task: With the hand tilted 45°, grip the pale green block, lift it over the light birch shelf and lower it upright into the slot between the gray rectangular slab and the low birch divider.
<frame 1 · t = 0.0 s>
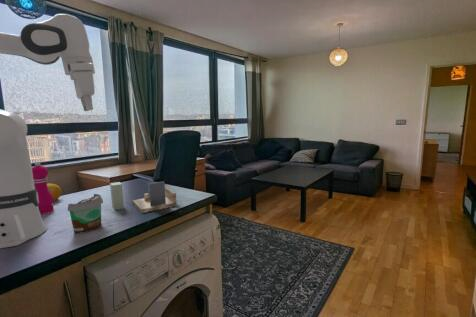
hand: (88, 110, 93), 39 cm above the kitchen counter, tool pointing down, fingers open, 8 cm apart
pale green block: (118, 207, 111), on the kitchen counter
fruit: (50, 201, 121), on the kitchen counter
gray rectangular slab: (158, 208, 109), resting on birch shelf
pepper mill: (44, 211, 108), on the kitchen counter
food container: (93, 228, 91), on the kitchen counter
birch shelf: (154, 204, 113), on the kitchen counter
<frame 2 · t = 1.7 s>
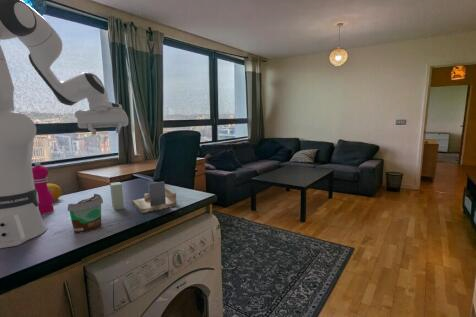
hand: (106, 132, 116), 30 cm above the kitchen counter, tool tilted 45°, fingers open, 8 cm apart
nothing on the kitchen counter moved.
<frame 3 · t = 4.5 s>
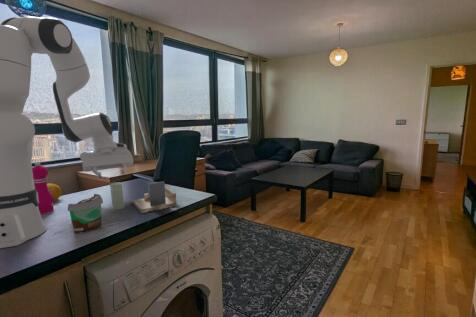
hand: (111, 175, 115), 12 cm above the kitchen counter, tool tilted 45°, fingers open, 8 cm apart
nothing on the kitchen counter moved.
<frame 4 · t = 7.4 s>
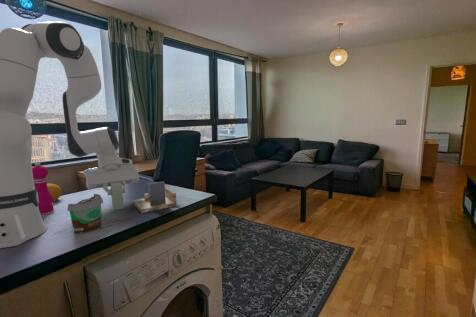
hand: (116, 193, 110), 6 cm above the kitchen counter, tool tilted 45°, fingers closed on pale green block, 4 cm apart
pale green block: (118, 207, 111), on the kitchen counter, touching gripper
everything else where it was.
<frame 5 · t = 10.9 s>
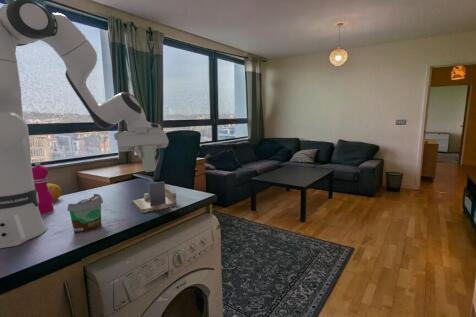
hand: (148, 156, 109), 21 cm above the kitchen counter, tool tilted 45°, fingers closed on pale green block, 4 cm apart
pale green block: (149, 170, 110), point 15 cm above the kitchen counter, touching gripper
everything else where it was.
when the fingers open (9 cm above the kitchen counter, at t = 14.7 s): pale green block drops 1 cm, resting on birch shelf.
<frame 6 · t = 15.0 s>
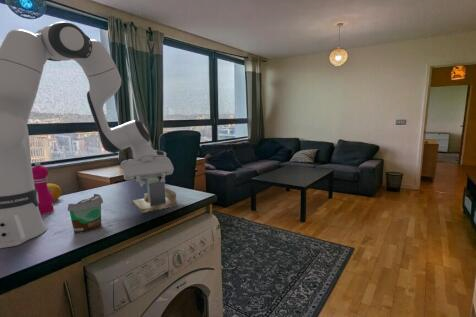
hand: (153, 184, 111), 9 cm above the kitchen counter, tool tilted 45°, fingers open, 7 cm apart
pale green block: (154, 202, 112), point 2 cm above the kitchen counter, touching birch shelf
everything else where it was.
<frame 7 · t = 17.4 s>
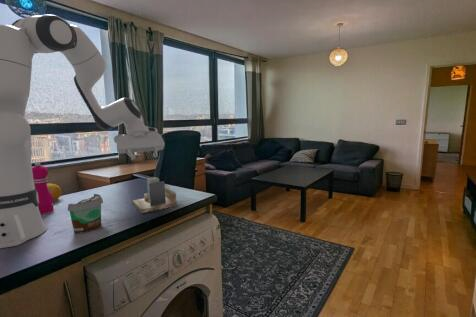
hand: (145, 157, 117), 19 cm above the kitchen counter, tool tilted 45°, fingers open, 8 cm apart
nothing on the kitchen counter moved.
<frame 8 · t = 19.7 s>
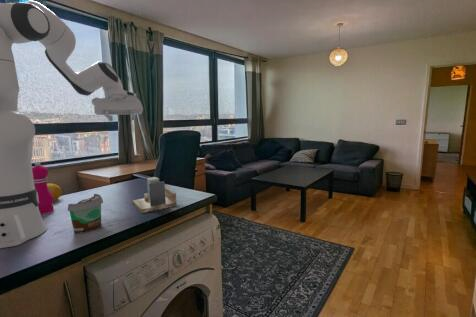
hand: (122, 119, 119), 35 cm above the kitchen counter, tool tilted 45°, fingers open, 8 cm apart
nothing on the kitchen counter moved.
at the end: pale green block 0.1 cm from the target spot on the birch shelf, point 1.5 cm above the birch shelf's base; pale green block tilted 0°; the gripper is holding nothing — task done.
